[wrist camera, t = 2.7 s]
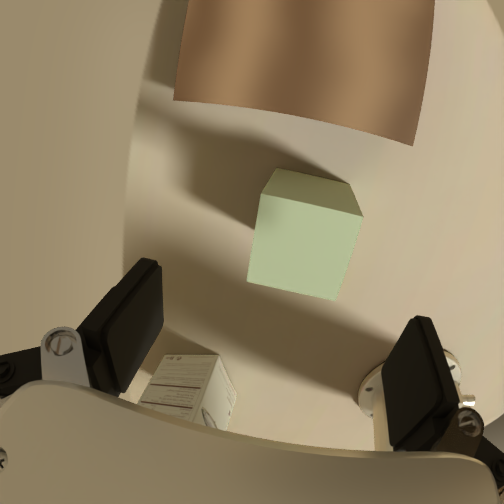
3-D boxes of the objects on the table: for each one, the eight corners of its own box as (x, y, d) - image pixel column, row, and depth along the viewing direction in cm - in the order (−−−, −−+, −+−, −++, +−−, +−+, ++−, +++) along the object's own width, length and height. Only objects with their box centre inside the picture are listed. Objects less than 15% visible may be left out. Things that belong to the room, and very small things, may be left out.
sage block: (349, 184, 21) (363, 216, 15) (331, 249, 24) (335, 301, 18) (276, 167, 22) (260, 193, 16) (264, 234, 25) (246, 281, 18)
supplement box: (239, 394, 35) (212, 484, 24) (185, 391, 37) (150, 471, 26) (221, 352, 32) (182, 453, 21) (163, 352, 34) (115, 437, 23)
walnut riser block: (414, -25, 12) (435, -49, 8) (391, 137, 19) (412, 146, 15) (230, -55, 14) (210, -84, 10) (201, 100, 21) (173, 100, 16)
